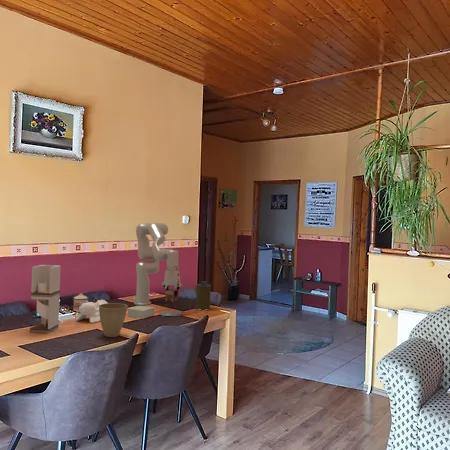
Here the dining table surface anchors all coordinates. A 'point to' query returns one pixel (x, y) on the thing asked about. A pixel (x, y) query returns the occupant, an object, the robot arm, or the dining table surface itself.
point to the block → (140, 312)
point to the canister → (203, 296)
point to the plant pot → (112, 318)
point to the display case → (46, 296)
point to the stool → (170, 292)
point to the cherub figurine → (90, 311)
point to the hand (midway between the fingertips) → (171, 295)
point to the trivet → (170, 313)
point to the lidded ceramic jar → (79, 301)
